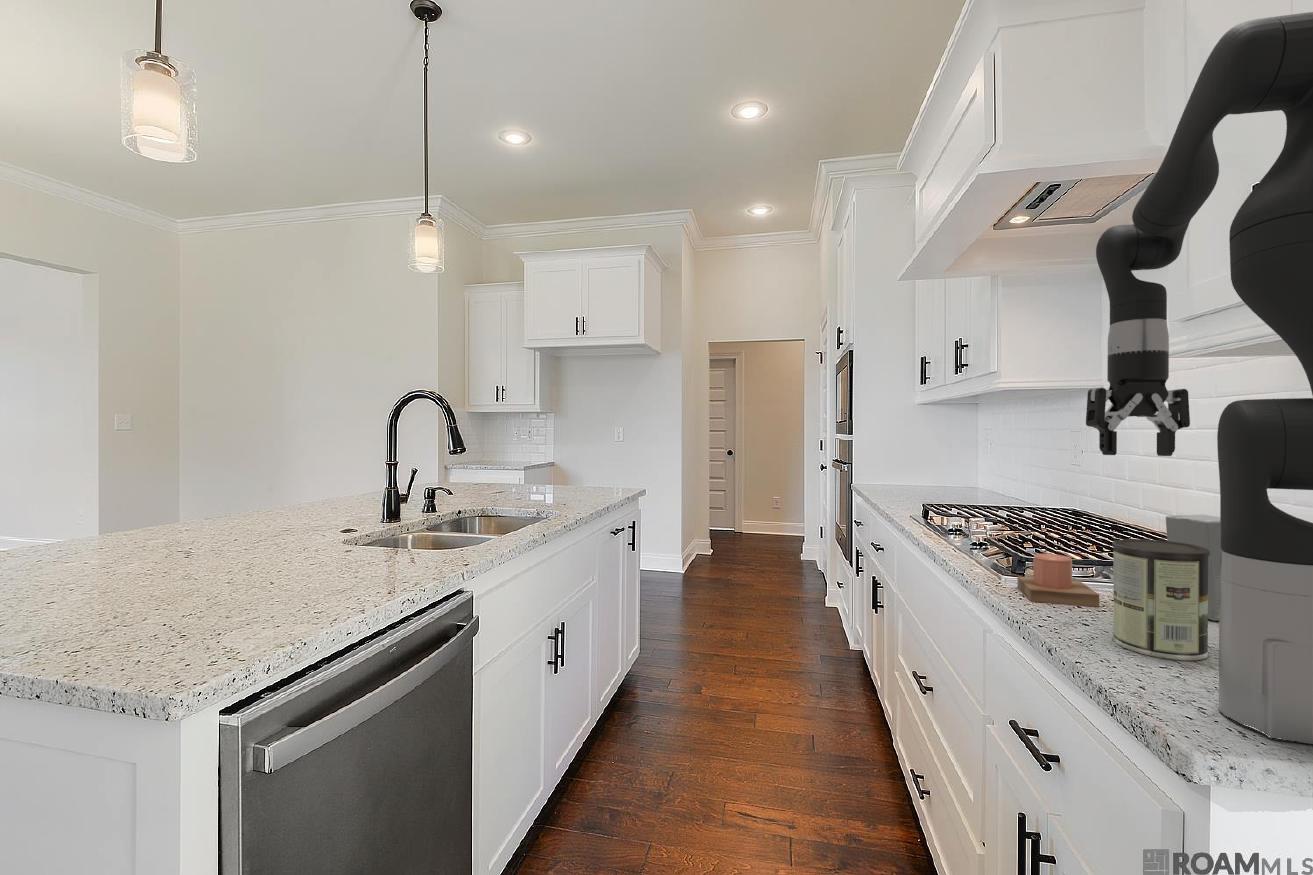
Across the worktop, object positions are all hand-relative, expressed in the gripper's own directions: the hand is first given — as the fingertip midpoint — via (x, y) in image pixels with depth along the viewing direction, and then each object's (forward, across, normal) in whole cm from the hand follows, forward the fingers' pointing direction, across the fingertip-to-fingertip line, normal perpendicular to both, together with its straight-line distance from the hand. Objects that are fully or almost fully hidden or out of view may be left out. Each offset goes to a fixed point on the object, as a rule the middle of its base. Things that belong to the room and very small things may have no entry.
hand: (1137, 455), depth 95 cm
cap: (+23, -4, +14) cm, 28 cm away
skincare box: (+26, +14, +4) cm, 30 cm away
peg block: (+25, -4, +14) cm, 29 cm away
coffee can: (+26, -5, -11) cm, 29 cm away
